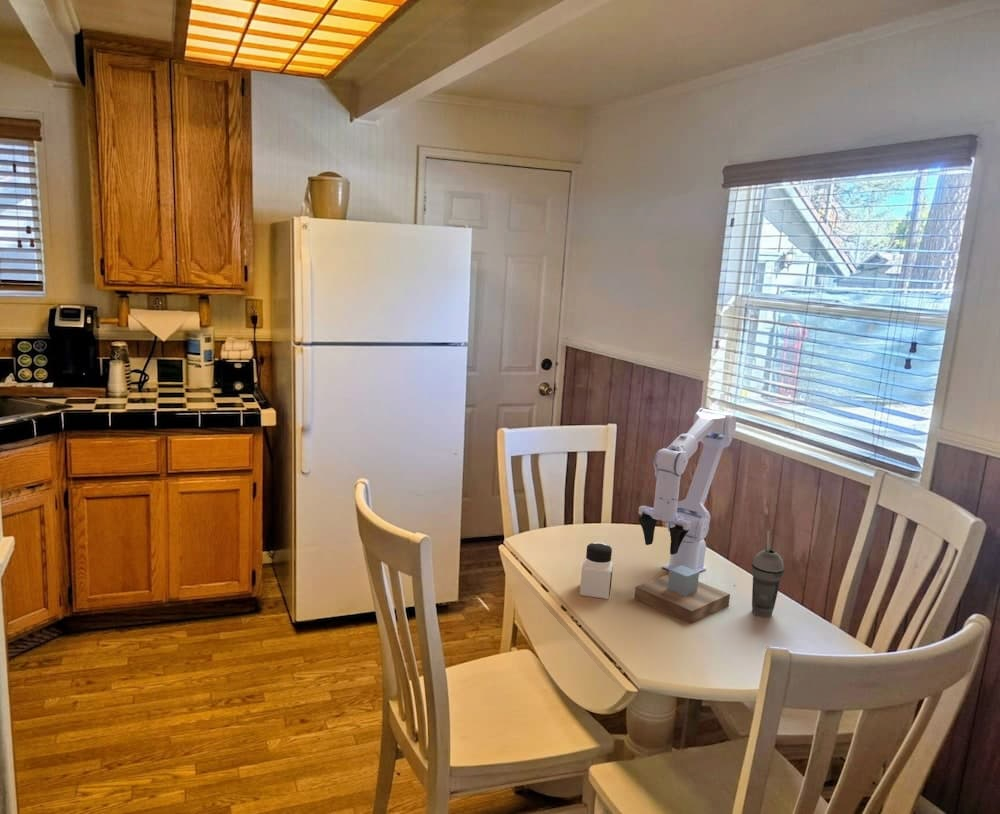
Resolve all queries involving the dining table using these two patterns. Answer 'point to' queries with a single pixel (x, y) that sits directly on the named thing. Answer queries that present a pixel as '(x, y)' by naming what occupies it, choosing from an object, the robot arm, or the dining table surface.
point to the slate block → (683, 580)
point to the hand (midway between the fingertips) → (661, 548)
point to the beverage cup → (766, 581)
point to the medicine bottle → (597, 571)
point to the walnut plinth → (682, 599)
